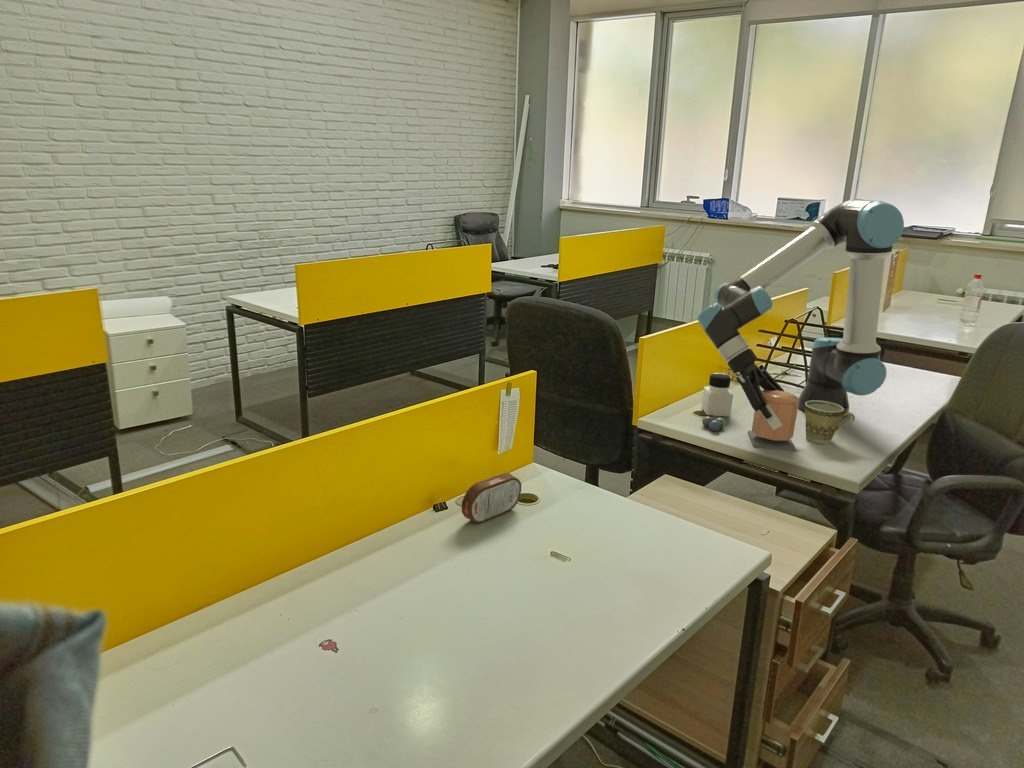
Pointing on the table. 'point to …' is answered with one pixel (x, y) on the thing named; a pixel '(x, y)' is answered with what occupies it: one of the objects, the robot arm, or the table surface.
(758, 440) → the slate mat
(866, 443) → the table surface
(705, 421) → the charcoal marble
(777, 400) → the peach domed post
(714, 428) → the navy marble
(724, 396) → the medicine bottle
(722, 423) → the bottle-green marble
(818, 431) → the ceramic cup
